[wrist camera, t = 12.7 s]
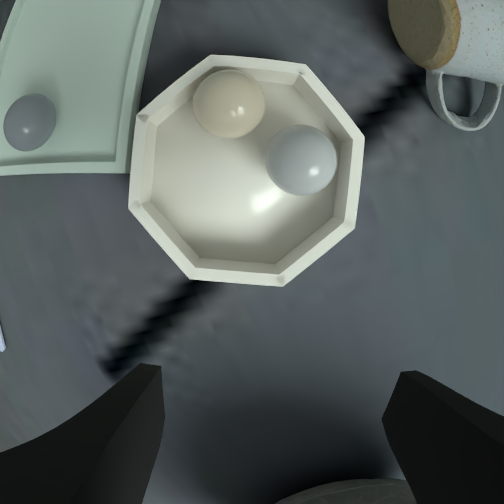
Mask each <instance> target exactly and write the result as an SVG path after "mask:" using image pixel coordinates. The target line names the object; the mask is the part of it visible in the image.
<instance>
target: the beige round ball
mask: <svg viewBox="0 0 504 504" xmlns="http://www.w3.org/2000/svg"><path fill="white" fill-rule="evenodd" d="M265 108H266V99H265V94H264V91H263V89H262V87H261V86H260V84H259V83H258V82H257V81H256V80H255V79H254V78H253V77H252V76H250V75H249V74H247V73H245V72H242V71H238V70H221V71H218V72H215V73H213V74H211V75H209V76H208V77H206V78H205V79H204V80H203V81H202V82H201V83H200V85H199V86H198V87H197V89H196V91H195V94H194V97H193V112H194V116H195V118H196V120H197V122H198V123H199V125H200V126H201V127H202V128H203V129H204V130H205V131H207V132H208V133H210V134H211V135H214V136H216V137H220V138H226V139H232V138H238V137H241V136H244V135H246V134H248V133H250V132H251V131H252V130H254V129H255V128H256V127H257V126H258V124H259V123H260V122H261V120H262V118H263V116H264V113H265Z"/></svg>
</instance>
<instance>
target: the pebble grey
mask: <svg viewBox="0 0 504 504" xmlns="http://www.w3.org/2000/svg"><path fill="white" fill-rule="evenodd" d="M265 166H266V170H267V173H268V175H269V177H270V178H271V180H272V181H273V183H274V184H275V185H276V186H277V187H279V188H280V189H281V190H283V191H285V192H287V193H289V194H293V195H298V196H306V195H311V194H314V193H317V192H319V191H321V190H322V189H323V188H325V187H326V186H327V185H328V184H329V183H330V181H331V180H332V178H333V176H334V174H335V172H336V168H337V154H336V150H335V147H334V145H333V143H332V142H331V140H330V139H329V138H328V137H327V135H326V134H324V133H323V132H322V131H320V130H319V129H317V128H315V127H312V126H309V125H292V126H288V127H286V128H284V129H282V130H280V131H279V132H278V133H276V134H275V135H274V136H273V138H272V139H271V140H270V142H269V144H268V146H267V149H266V153H265Z"/></svg>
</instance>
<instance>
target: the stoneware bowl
mask: <svg viewBox="0 0 504 504" xmlns="http://www.w3.org/2000/svg"><path fill="white" fill-rule="evenodd" d="M221 70H238V71H242V72H245V73H247V74H249V75H250V76H252V77H253V78H254V79H255V80H256V81H257V82H258V83H259V84H260V86H261V87H262V89H263V91H264V94H265V99H266V108H265V113H264V116H263V118H262V120H261V122H260V123H259V124H258V126H257V127H256V128H255V129H254V130H252V131H251V132H250V133H248V134H246V135H244V136H241V137H238V138H232V139H226V138H220V137H216V136H214V135H211V134H210V133H208V132H207V131H205V130H204V129H203V128H202V127H201V126H200V125H199V123H198V122H197V120H196V118H195V116H194V112H193V97H194V94H195V91H196V89H197V87H198V86H199V85H200V83H201V82H202V81H203V80H204V79H205V78H206V77H208V76H209V75H211V74H213V73H215V72H218V71H221ZM292 125H309V126H312V127H315V128H317V129H319V130H320V131H322V132H323V133H324V134H326V135H327V137H328V138H329V139H330V140H331V142H332V143H333V145H334V147H335V150H336V154H337V168H336V172H335V174H334V176H333V178H332V180H331V181H330V183H329V184H328V185H327V186H326V187H325V188H323V189H322V190H321V191H319V192H317V193H314V194H311V195H306V196H298V195H293V194H289V193H287V192H285V191H283V190H281V189H280V188H279V187H277V186H276V185H275V184H274V183H273V181H272V180H271V178H270V177H269V175H268V173H267V170H266V166H265V153H266V149H267V146H268V144H269V142H270V140H271V139H272V138H273V136H274V135H275V134H276V133H278V132H279V131H280V130H282V129H284V128H286V127H288V126H292ZM364 139H365V137H364V136H363V134H362V133H361V132H360V130H359V129H358V127H357V126H356V125H355V123H354V122H353V121H352V120H351V118H350V117H349V116H348V114H347V113H346V112H345V110H344V109H343V108H342V107H341V105H340V104H339V103H338V102H337V100H336V99H335V98H334V97H333V96H332V94H331V93H330V92H329V91H328V90H327V88H326V87H325V86H324V85H323V84H322V82H321V81H320V80H319V79H318V78H317V77H316V76H315V74H314V73H313V72H312V71H311V70H310V69H309V68H308V67H307V65H306V64H299V63H292V62H286V61H279V60H271V59H262V58H253V57H241V56H227V55H210V56H208V57H207V58H205V59H204V60H203V61H201V62H200V63H199V64H197V65H196V66H195V67H193V68H192V69H191V70H189V71H188V72H187V73H185V74H184V75H183V76H182V77H180V78H179V79H178V80H176V81H175V82H174V83H173V84H172V85H170V86H169V87H168V88H167V89H165V90H164V91H163V92H162V93H161V94H160V95H158V96H157V97H156V98H155V99H154V100H153V101H151V102H150V103H149V104H148V105H147V106H146V107H145V108H143V109H142V110H141V111H140V112H139V113H138V114H137V115H136V123H135V131H134V140H133V149H132V160H131V172H130V187H129V206H128V209H129V210H130V211H131V212H132V213H133V215H134V216H135V217H136V218H137V219H138V221H139V222H140V223H141V224H142V225H143V226H144V228H145V229H146V230H147V231H148V232H149V234H150V235H151V236H152V237H153V238H154V239H155V241H156V242H157V243H158V244H159V245H160V246H161V247H162V249H163V250H164V251H165V252H166V253H167V254H168V255H169V257H170V258H171V259H172V260H173V261H174V262H175V263H176V264H177V266H178V267H179V268H180V269H181V270H182V271H183V272H184V273H185V274H186V276H187V277H188V278H189V279H195V280H206V281H217V282H229V283H242V284H254V285H267V286H281V287H283V286H284V285H285V284H287V283H288V282H289V281H291V280H292V279H293V278H294V277H296V276H297V275H298V274H299V273H301V272H302V271H303V270H304V269H306V268H307V267H308V266H309V265H311V264H312V263H313V262H314V261H316V260H317V259H318V258H319V257H321V256H322V255H323V254H324V253H325V252H327V251H328V250H329V249H330V248H332V247H333V246H334V245H335V244H336V243H338V242H339V241H340V240H341V239H342V238H344V237H345V236H346V235H347V234H348V233H350V232H351V231H352V230H353V229H355V222H356V215H357V207H358V199H359V191H360V182H361V173H362V162H363V151H364Z"/></svg>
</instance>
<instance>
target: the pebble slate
mask: <svg viewBox="0 0 504 504" xmlns="http://www.w3.org/2000/svg"><path fill="white" fill-rule="evenodd" d="M55 126H56V110H55V107H54V105H53V103H52V102H51V101H50V99H48V98H47V97H46V96H44V95H42V94H38V93H31V94H26V95H24V96H22V97H20V98H18V99H17V100H16V101H15V102H14V103H13V104H12V105H11V106H10V108H9V109H8V111H7V113H6V115H5V118H4V123H3V130H4V135H5V138H6V140H7V142H8V143H9V144H10V146H12V147H13V148H14V149H16V150H19V151H24V152H27V151H33V150H36V149H38V148H39V147H41V146H42V145H44V144H45V143H46V142H47V141H48V140H49V138H50V137H51V135H52V133H53V131H54V129H55Z"/></svg>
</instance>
